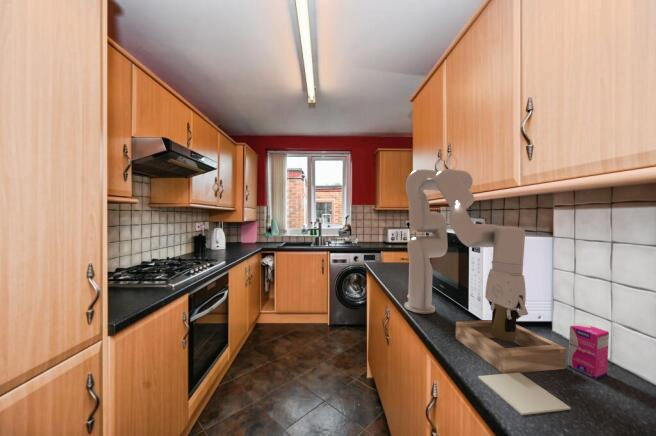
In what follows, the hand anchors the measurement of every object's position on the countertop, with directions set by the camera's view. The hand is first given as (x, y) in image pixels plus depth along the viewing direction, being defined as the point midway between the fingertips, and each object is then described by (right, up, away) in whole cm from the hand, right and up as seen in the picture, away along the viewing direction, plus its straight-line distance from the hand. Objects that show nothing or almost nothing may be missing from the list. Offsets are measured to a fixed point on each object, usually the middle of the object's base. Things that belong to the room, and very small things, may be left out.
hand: (503, 327), depth 77 cm
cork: (0, -3, 0) cm, 3 cm away
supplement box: (+16, -8, -9) cm, 20 cm away
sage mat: (-9, -7, -18) cm, 21 cm away
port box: (0, -7, -1) cm, 7 cm away
